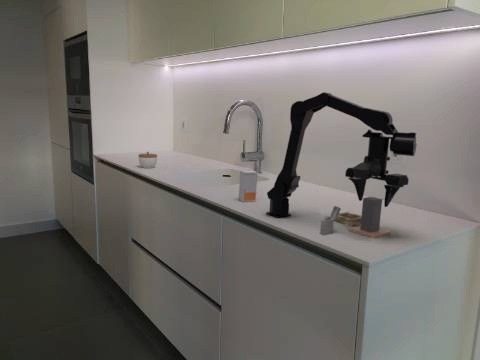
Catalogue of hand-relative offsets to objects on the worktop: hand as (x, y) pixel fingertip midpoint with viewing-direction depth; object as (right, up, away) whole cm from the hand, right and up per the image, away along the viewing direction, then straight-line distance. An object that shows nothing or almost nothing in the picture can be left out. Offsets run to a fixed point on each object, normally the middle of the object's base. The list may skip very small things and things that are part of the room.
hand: (372, 203), depth 124 cm
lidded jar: (-95, +14, +113) cm, 149 cm away
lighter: (-14, -9, -1) cm, 16 cm away
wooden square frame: (-4, -7, +13) cm, 15 cm away
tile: (-1, -9, +2) cm, 9 cm away
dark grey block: (-1, -8, +2) cm, 9 cm away
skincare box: (-38, -1, +38) cm, 54 cm away
